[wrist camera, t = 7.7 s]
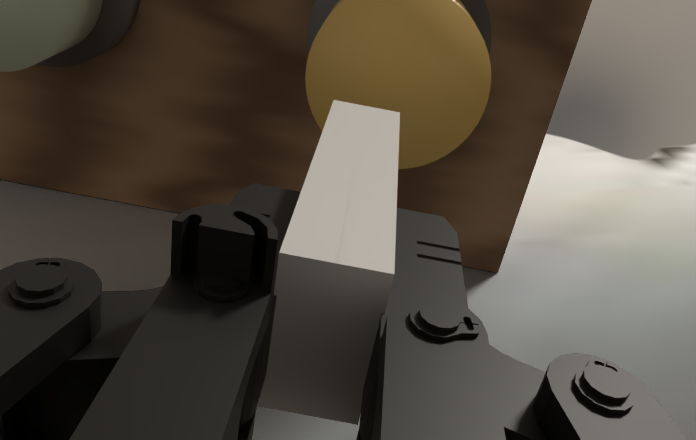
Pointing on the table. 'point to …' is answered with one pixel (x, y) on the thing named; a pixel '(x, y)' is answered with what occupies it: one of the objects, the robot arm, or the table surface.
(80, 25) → the sage button
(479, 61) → the ochre button
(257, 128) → the console
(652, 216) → the table surface
